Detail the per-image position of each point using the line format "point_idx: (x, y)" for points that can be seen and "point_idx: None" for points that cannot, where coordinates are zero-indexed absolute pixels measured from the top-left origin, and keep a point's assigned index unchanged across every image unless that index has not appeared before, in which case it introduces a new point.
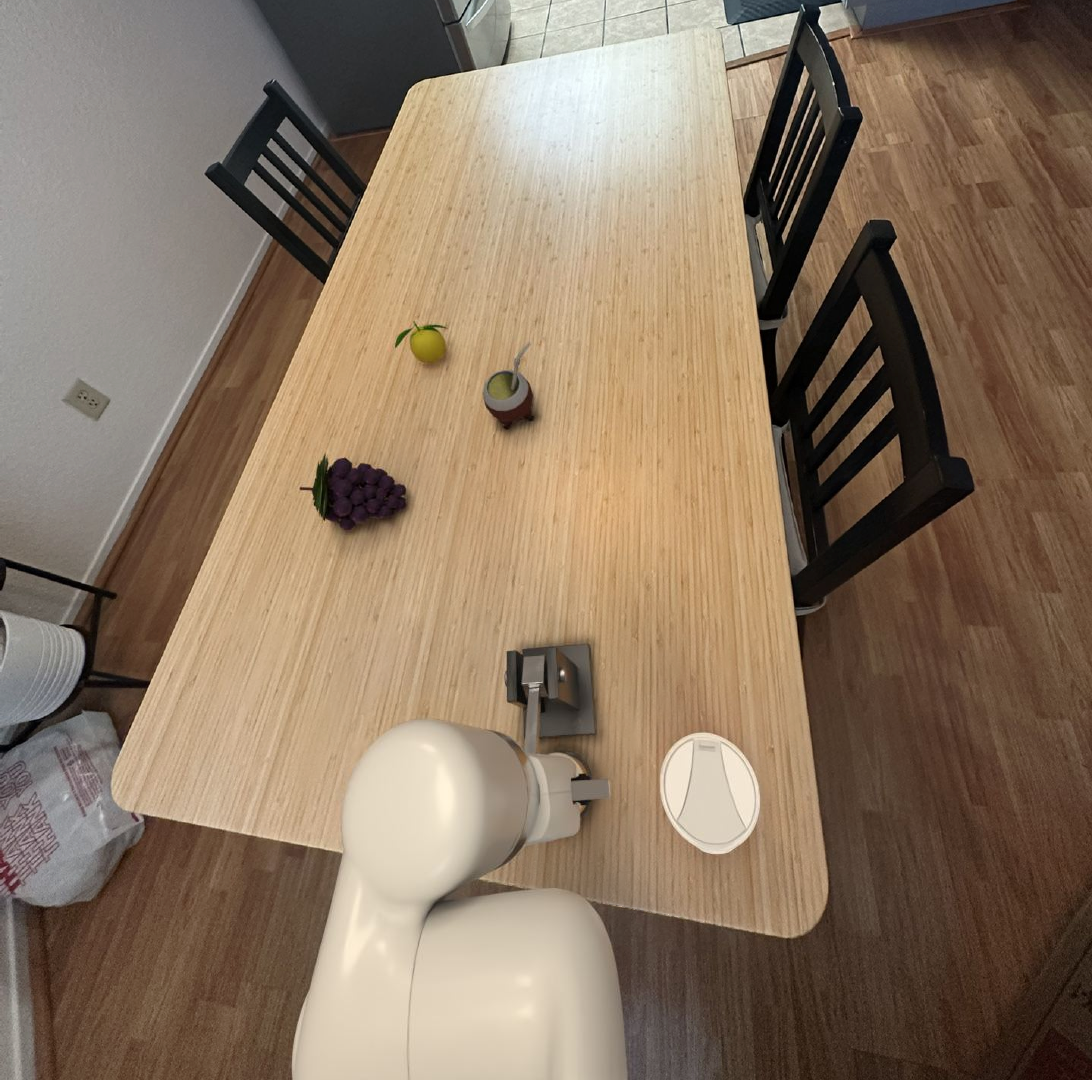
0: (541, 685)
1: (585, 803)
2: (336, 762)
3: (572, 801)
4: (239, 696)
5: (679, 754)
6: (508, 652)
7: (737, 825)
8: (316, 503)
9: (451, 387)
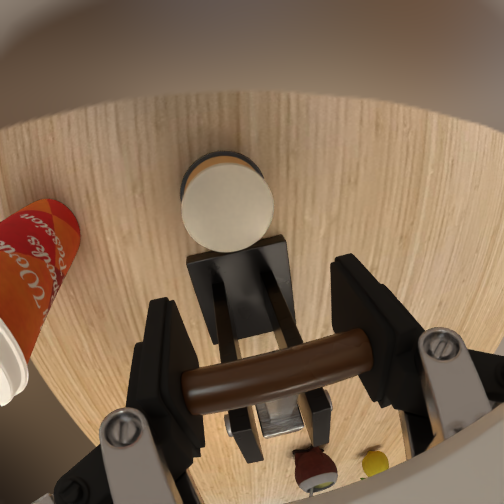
0: (267, 428)
1: (65, 499)
2: (474, 183)
3: (109, 493)
4: None
5: (5, 395)
6: (325, 443)
7: None
8: None
9: (359, 444)
